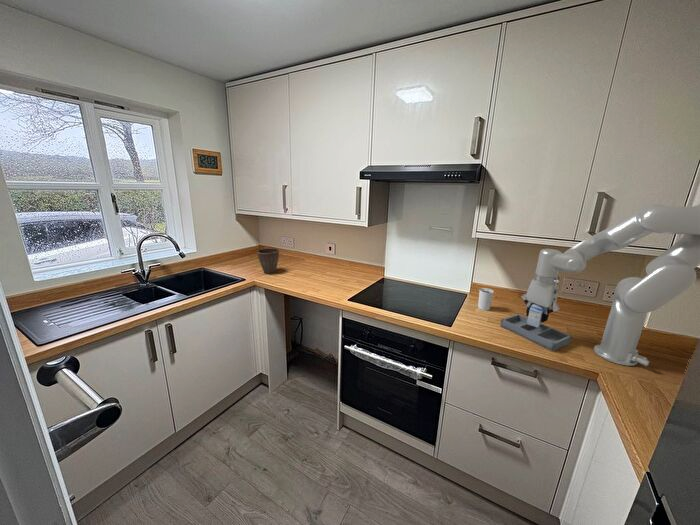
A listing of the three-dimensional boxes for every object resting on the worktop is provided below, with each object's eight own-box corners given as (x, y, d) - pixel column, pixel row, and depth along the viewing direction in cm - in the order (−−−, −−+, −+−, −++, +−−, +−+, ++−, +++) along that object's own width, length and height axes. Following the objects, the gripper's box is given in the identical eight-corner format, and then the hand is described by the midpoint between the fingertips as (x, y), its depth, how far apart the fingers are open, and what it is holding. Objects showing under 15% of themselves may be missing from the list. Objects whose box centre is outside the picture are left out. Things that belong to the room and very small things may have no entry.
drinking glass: (491, 307, 151) (494, 289, 148) (490, 312, 145) (493, 293, 143) (477, 304, 154) (480, 287, 151) (476, 309, 149) (478, 291, 146)
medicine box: (531, 318, 127) (535, 300, 125) (543, 322, 124) (547, 304, 122) (526, 324, 122) (530, 305, 119) (538, 328, 119) (542, 309, 116)
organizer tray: (569, 343, 118) (571, 336, 117) (553, 351, 112) (554, 343, 111) (516, 320, 137) (518, 313, 136) (500, 326, 131) (501, 319, 130)
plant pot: (255, 275, 196) (253, 253, 192) (262, 269, 211) (261, 248, 206) (277, 275, 196) (275, 253, 192) (282, 269, 210) (281, 248, 206)
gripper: (573, 284, 112) (562, 325, 117) (529, 271, 126) (521, 308, 131) (563, 287, 108) (552, 329, 113) (519, 274, 123) (511, 312, 128)
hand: (536, 318), depth 122 cm, fingers closed on medicine box, 5 cm apart
